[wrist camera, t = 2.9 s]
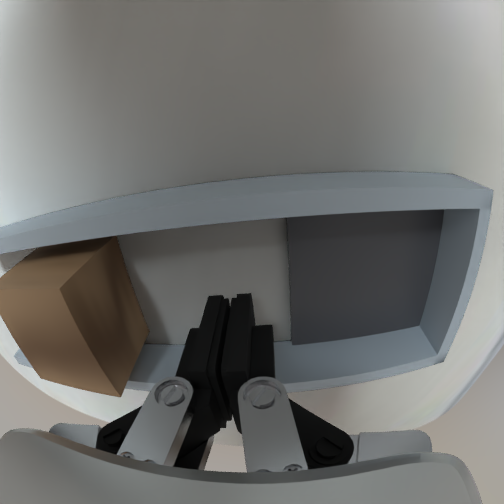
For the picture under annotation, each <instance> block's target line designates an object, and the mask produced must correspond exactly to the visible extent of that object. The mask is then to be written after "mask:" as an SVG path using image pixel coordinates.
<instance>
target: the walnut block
mask: <svg viewBox="0 0 504 504" xmlns="http://www.w3.org/2000/svg"><path fill="white" fill-rule="evenodd" d="M0 315H1V317H2V319H3V321H4V322H5V324H6V326H7V328H8V330H9V331H10V333H11V335H12V336H13V338H14V340H15V341H16V343H17V344H18V346H19V348H20V349H21V351H22V352H23V354H24V355H25V357H26V358H27V360H28V361H29V363H30V364H31V365H32V367H33V368H34V370H35V371H36V372H37V374H38V375H39V376H40V378H42V379H45V380H48V381H52V382H55V383H59V384H62V385H66V386H70V387H74V388H78V389H82V390H87V391H91V392H96V393H101V394H106V395H111V396H117V397H121V396H122V393H123V391H124V388H125V386H126V384H127V381H128V379H129V377H130V374H131V372H132V370H133V367H134V365H135V363H136V360H137V358H138V356H139V354H140V351H141V349H142V347H143V345H144V343H145V340H146V338H147V336H148V334H149V332H150V331H149V329H148V326H147V324H146V321H145V319H144V316H143V314H142V311H141V309H140V306H139V303H138V301H137V298H136V295H135V292H134V289H133V287H132V284H131V281H130V278H129V275H128V272H127V269H126V266H125V262H124V259H123V256H122V253H121V249H120V246H119V243H118V239H117V236H109V237H102V238H95V239H88V240H81V241H74V242H68V243H61V244H55V245H49V246H43V247H39V248H37V249H36V250H35V251H33V252H32V253H31V254H29V255H28V256H27V257H25V258H24V259H23V260H21V261H20V262H19V263H18V264H16V265H15V266H14V267H13V268H11V269H10V270H9V271H8V272H7V273H5V274H4V275H3V276H2V277H1V278H0Z"/></svg>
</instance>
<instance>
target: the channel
mask: <svg viewBox="0 0 504 504" xmlns="http://www.w3.org/2000/svg"><path fill="white" fill-rule="evenodd" d="M492 198H493V190H492V189H490V188H488V187H485V186H483V185H481V184H478V183H476V182H473V181H471V180H468V179H466V178H463V177H460V176H458V175H455V174H445V173H425V172H330V173H309V174H292V175H278V176H266V177H255V178H244V179H235V180H226V181H218V182H209V183H202V184H194V185H187V186H180V187H174V188H168V189H161V190H155V191H149V192H144V193H138V194H133V195H128V196H122V197H117V198H112V199H108V200H103V201H98V202H94V203H89V204H85V205H80V206H76V207H72V208H68V209H64V210H60V211H56V212H52V213H49V214H45V215H41V216H38V217H34V218H30V219H27V220H24V221H20V222H17V223H14V224H10V225H7V226H4V227H1V228H0V254H3V253H8V252H14V251H19V250H25V249H31V248H37V247H43V246H49V245H55V244H61V243H68V242H74V241H81V240H88V239H95V238H102V237H109V236H116V235H124V234H131V233H139V232H147V231H155V230H164V229H172V228H181V227H190V226H199V225H209V224H219V223H229V222H239V221H250V220H262V219H273V218H286V219H287V236H288V255H289V276H290V303H291V340H290V341H279V342H274V356H275V379H277V380H279V381H280V382H281V383H282V384H283V385H284V387H285V389H286V391H287V393H289V392H300V391H309V390H318V389H325V388H332V387H339V386H345V385H351V384H357V383H362V382H367V381H372V380H377V379H382V378H386V377H390V376H395V375H399V374H403V373H407V372H410V371H414V370H418V369H421V368H425V367H428V366H431V365H435V364H438V363H441V362H444V360H445V358H446V355H447V353H448V351H449V349H450V347H451V345H452V342H453V340H454V338H455V336H456V333H457V331H458V328H459V326H460V323H461V321H462V318H463V316H464V313H465V310H466V307H467V305H468V302H469V299H470V296H471V293H472V290H473V287H474V283H475V280H476V277H477V273H478V269H479V266H480V262H481V258H482V254H483V249H484V245H485V240H486V235H487V230H488V225H489V219H490V213H491V206H492ZM184 346H185V345H158V344H144V345H143V347H142V349H141V351H140V354H139V356H138V358H137V360H136V363H135V365H134V367H133V370H132V372H131V374H130V377H129V379H128V381H127V384H126V386H125V388H127V389H134V390H142V391H151V389H152V388H153V386H154V385H155V384H156V383H157V382H159V381H160V380H162V379H164V378H167V377H175V375H176V372H177V369H178V365H179V362H180V359H181V356H182V353H183V349H184ZM14 357H15V358H16V360H17V361H18V363H19V364H22V365H25V366H28V367H31V368H33V367H32V365H31V364H30V363H29V361H28V360H27V358H26V357H25V355H24V354H23V352H22V351H21V349H19V350H18V351H17V353H16V354H15V355H14Z"/></svg>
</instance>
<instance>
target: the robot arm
mask: <svg viewBox="0 0 504 504" xmlns="http://www.w3.org/2000/svg"><path fill="white" fill-rule="evenodd" d="M232 414H233V417H234V421H235V424H236V427H237V430H238V431H239V432H240V433H241V434H242V438H243V446H244V454H245V461H246V469H247V473H241V472H240V473H238V472H216V471H204V469H205V465H206V462H207V459H208V456H209V453H210V450H211V447H212V444H213V441H214V434H216V433H217V432H219V431H220V428H226V423H227V421H231V420H232ZM0 504H482V500H481V497H480V494H479V491H478V488H477V486H476V483H475V481H474V479H473V477H472V474H471V473H470V471H469V469H468V468H467V466H466V465H465V464H464V462H463V461H462V460H460V459H459V458H458V457H456V456H454V455H450V454H445V453H438V452H432V444H431V440H430V437H429V436H428V435H427V434H426V433H425V432H422V431H420V430H405V431H391V432H360V434H359V435H348V434H347V433H345V432H344V431H342V430H340V429H339V428H337V427H335V426H333V425H331V424H330V423H328V422H326V421H325V420H323V419H321V418H319V417H318V416H316V415H314V414H313V413H311V412H309V411H308V410H306V409H305V408H303V407H301V406H300V405H298V404H297V403H295V402H293V401H292V400H290V399H289V398H288V395H287V391H286V389H285V387H284V385H283V384H282V383H281V382H280V381H279V380H277V379H275V356H274V340H273V327H272V325H260V326H255V318H254V310H253V302H252V295H251V293H248V294H237V298H232V301H231V307H230V303H229V299H228V298H226V299H224V297H223V295H215V296H209V297H208V300H207V303H206V306H205V310H204V313H203V317H202V320H201V324H200V327H199V328H191V329H190V331H189V334H188V337H187V340H186V343H185V346H184V349H183V353H182V356H181V359H180V362H179V365H178V369H177V372H176V375H175V377H167V378H164V379H162V380H160V381H159V382H157V383H156V384H155V385H154V386H153V388H152V389H151V391H150V393H149V395H148V397H147V398H146V400H145V402H144V404H143V405H142V406H141V407H139V408H137V409H135V410H133V411H132V412H130V413H128V414H126V415H124V416H122V417H120V418H118V419H117V420H115V421H113V422H111V423H109V424H107V425H106V426H104V427H103V428H101V427H100V426H99V425H80V424H67V423H59V424H56V425H54V426H53V427H52V428H51V429H50V431H49V432H46V431H42V430H38V429H28V428H26V429H25V428H22V429H14V430H10V431H8V432H7V433H5V434H4V435H3V436H2V438H1V439H0Z"/></svg>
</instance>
